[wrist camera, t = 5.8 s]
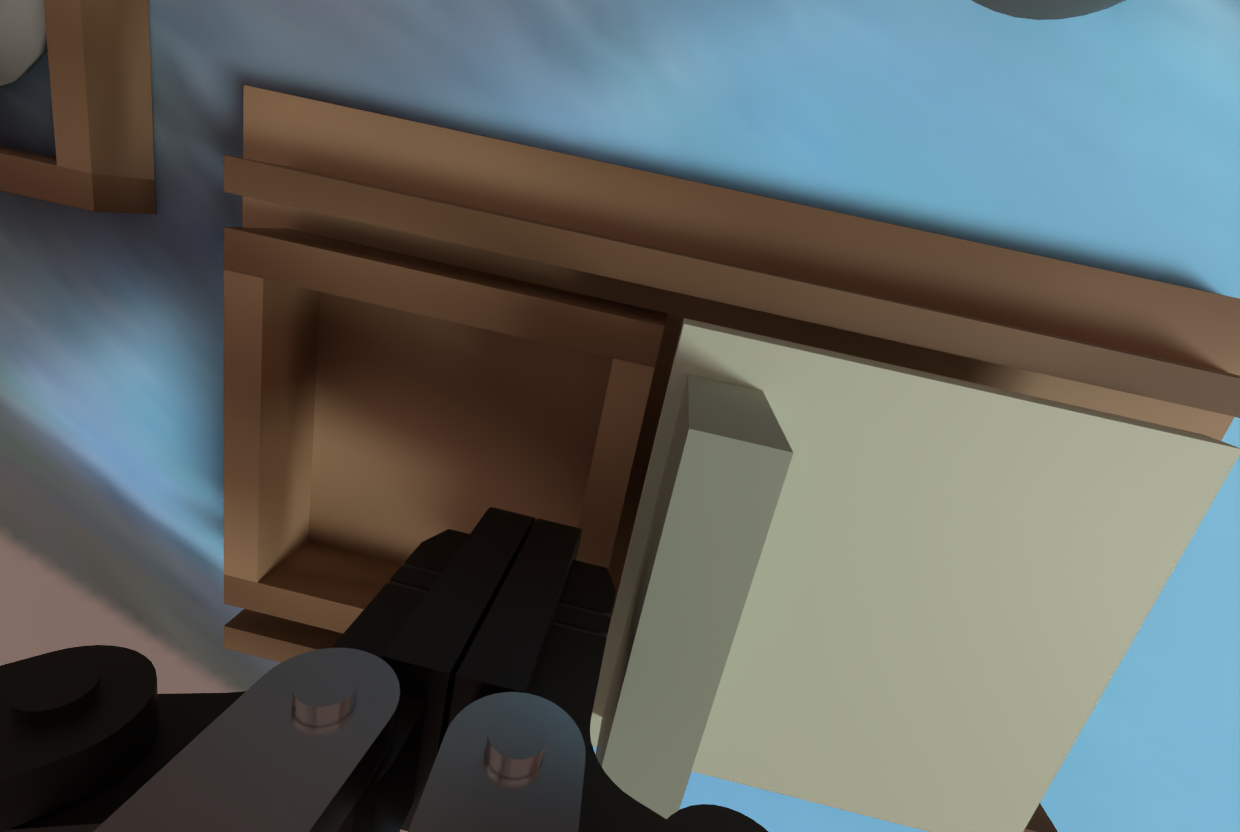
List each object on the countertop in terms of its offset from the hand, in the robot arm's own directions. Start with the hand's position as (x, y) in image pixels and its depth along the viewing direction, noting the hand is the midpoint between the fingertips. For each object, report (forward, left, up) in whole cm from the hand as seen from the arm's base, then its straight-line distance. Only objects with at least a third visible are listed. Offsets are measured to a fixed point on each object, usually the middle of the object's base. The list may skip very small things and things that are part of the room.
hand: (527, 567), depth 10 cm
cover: (0, +6, -2) cm, 6 cm away
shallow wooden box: (-1, +2, -5) cm, 6 cm away
